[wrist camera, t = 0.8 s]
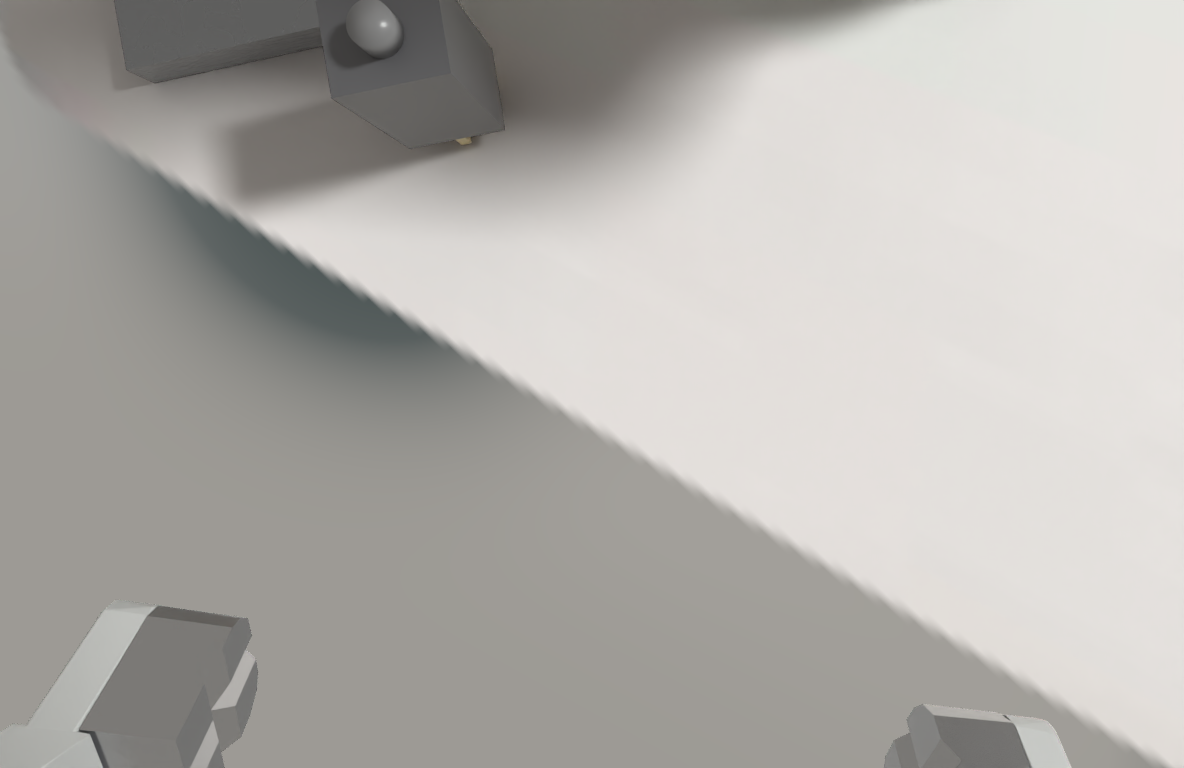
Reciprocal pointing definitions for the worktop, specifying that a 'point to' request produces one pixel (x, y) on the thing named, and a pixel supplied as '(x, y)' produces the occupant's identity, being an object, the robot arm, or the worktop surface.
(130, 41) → the socket plate
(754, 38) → the worktop surface
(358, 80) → the plug
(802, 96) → the worktop surface
